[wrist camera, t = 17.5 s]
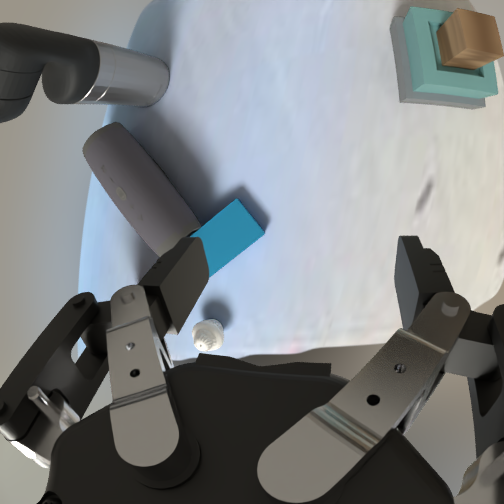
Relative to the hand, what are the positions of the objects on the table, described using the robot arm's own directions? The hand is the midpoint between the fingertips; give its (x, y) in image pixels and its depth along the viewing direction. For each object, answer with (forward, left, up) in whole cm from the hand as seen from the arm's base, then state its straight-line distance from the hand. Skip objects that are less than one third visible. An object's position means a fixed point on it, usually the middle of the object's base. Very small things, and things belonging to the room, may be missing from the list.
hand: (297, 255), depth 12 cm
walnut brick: (-1, +23, -25) cm, 34 cm away
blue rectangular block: (-4, -23, -36) cm, 42 cm away
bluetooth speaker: (-19, -23, -35) cm, 46 cm away
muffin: (+7, -35, -35) cm, 50 cm away
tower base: (-2, +23, -35) cm, 42 cm away
